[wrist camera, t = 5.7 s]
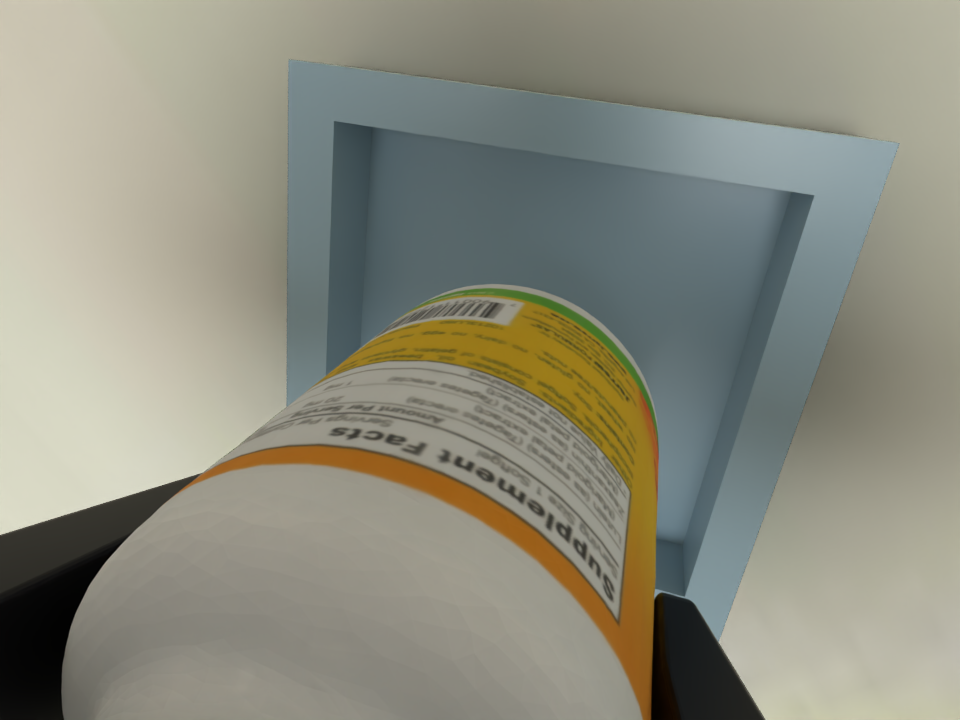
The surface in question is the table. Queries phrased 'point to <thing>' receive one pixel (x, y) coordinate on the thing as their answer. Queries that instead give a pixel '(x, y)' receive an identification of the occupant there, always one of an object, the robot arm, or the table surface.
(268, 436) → the supplement bottle
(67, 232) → the table surface
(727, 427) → the tray
